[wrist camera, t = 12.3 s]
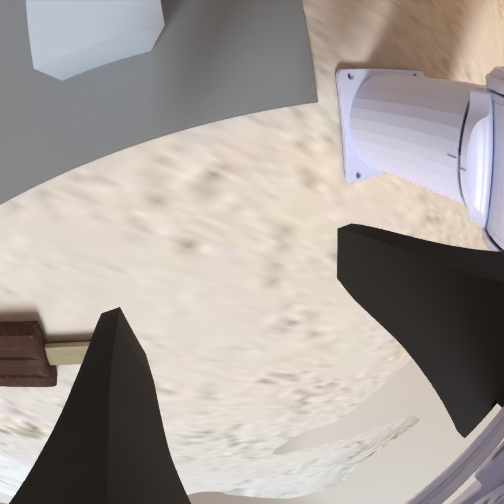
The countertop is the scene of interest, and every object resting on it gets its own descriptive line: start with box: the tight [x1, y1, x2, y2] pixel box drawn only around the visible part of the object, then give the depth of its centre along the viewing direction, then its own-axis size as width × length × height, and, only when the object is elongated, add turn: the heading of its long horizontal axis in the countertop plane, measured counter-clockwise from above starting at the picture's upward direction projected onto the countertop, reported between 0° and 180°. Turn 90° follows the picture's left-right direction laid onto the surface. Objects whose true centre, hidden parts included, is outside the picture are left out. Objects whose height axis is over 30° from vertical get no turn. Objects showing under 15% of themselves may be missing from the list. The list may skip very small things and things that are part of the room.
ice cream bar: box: [0, 321, 90, 387], centre depth 15 cm, size 5×2×15 cm
